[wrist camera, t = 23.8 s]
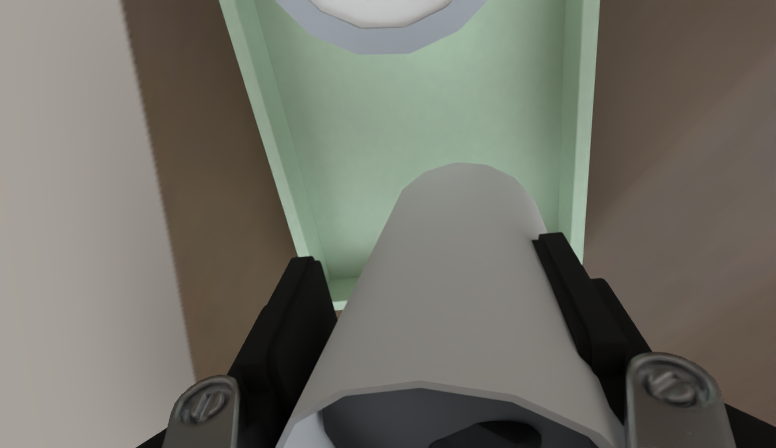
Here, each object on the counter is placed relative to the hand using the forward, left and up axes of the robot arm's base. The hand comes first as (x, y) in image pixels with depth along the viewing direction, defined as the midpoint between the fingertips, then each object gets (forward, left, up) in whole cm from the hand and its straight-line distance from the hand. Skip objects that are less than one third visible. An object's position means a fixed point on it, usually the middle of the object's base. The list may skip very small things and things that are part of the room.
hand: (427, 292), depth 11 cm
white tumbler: (-1, -1, -5) cm, 5 cm away
